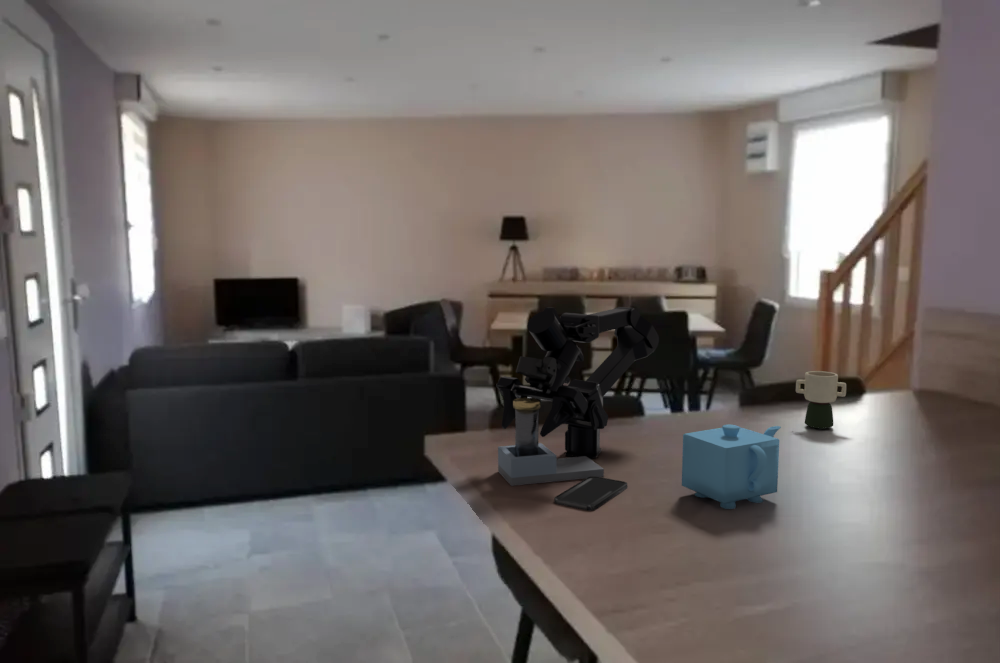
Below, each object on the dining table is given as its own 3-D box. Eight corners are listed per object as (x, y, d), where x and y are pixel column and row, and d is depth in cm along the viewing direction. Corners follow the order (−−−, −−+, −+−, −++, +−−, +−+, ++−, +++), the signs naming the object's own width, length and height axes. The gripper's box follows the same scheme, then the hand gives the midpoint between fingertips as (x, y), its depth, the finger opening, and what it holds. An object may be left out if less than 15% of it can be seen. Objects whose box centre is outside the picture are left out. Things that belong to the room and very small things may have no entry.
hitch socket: (585, 463, 155) (586, 439, 154) (603, 476, 146) (604, 451, 146) (498, 471, 150) (498, 446, 149) (511, 485, 141) (511, 459, 141)
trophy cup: (844, 426, 182) (847, 372, 181) (843, 433, 176) (846, 378, 174) (795, 422, 187) (797, 369, 185) (793, 428, 180) (795, 374, 179)
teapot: (734, 518, 125) (737, 441, 123) (671, 490, 139) (673, 420, 137) (812, 500, 133) (816, 427, 131) (745, 475, 147) (748, 409, 145)
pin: (537, 463, 149) (537, 397, 148) (543, 472, 144) (543, 403, 143) (511, 465, 149) (510, 398, 147) (515, 473, 143) (515, 404, 142)
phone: (551, 498, 132) (591, 475, 145) (551, 505, 132) (591, 481, 145) (593, 507, 128) (630, 482, 140) (593, 514, 128) (629, 488, 141)
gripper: (501, 336, 152) (464, 400, 145) (580, 344, 140) (543, 415, 133) (526, 369, 159) (491, 432, 152) (602, 380, 147) (569, 449, 140)
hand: (522, 431), depth 144 cm, fingers open, 9 cm apart
